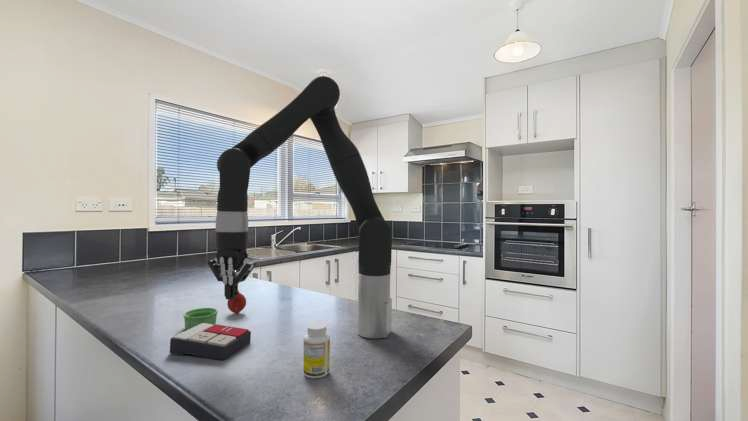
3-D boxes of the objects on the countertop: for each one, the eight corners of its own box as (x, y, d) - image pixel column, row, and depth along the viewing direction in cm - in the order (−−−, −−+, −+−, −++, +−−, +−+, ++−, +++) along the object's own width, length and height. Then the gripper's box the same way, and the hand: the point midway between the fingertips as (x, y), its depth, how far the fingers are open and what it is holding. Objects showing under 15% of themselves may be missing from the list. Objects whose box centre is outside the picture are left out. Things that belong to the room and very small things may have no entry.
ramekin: (193, 335, 90) (194, 319, 90) (176, 328, 95) (177, 313, 95) (223, 325, 98) (224, 311, 98) (206, 319, 103) (206, 305, 103)
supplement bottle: (318, 364, 74) (318, 319, 74) (334, 372, 70) (335, 325, 70) (297, 373, 70) (298, 326, 70) (314, 382, 66) (315, 332, 66)
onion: (223, 315, 107) (223, 291, 107) (236, 310, 112) (237, 287, 112) (236, 317, 105) (237, 293, 105) (249, 312, 110) (250, 289, 110)
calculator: (225, 344, 75) (169, 335, 78) (223, 363, 75) (168, 353, 78) (252, 328, 86) (202, 320, 89) (250, 344, 86) (201, 336, 89)
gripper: (264, 229, 83) (262, 297, 83) (221, 228, 87) (220, 293, 87) (244, 231, 76) (243, 305, 76) (198, 229, 80) (197, 300, 80)
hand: (230, 298), depth 81 cm, fingers closed
